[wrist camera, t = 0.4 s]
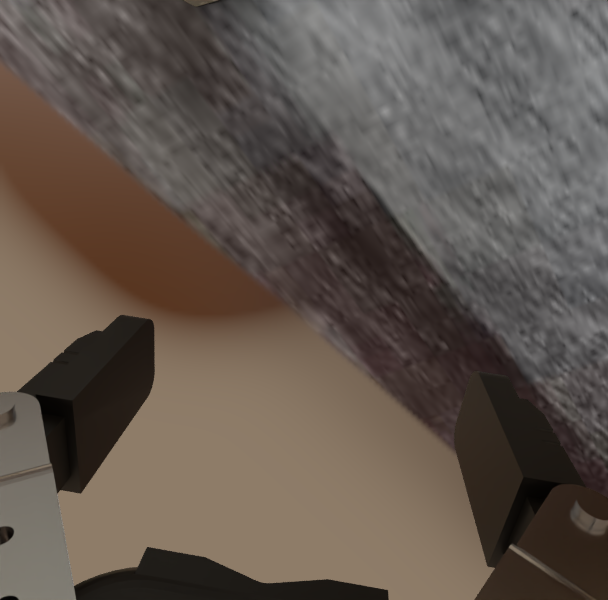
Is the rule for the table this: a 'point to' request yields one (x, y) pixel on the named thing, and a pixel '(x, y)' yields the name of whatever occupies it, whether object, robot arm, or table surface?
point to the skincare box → (199, 2)
